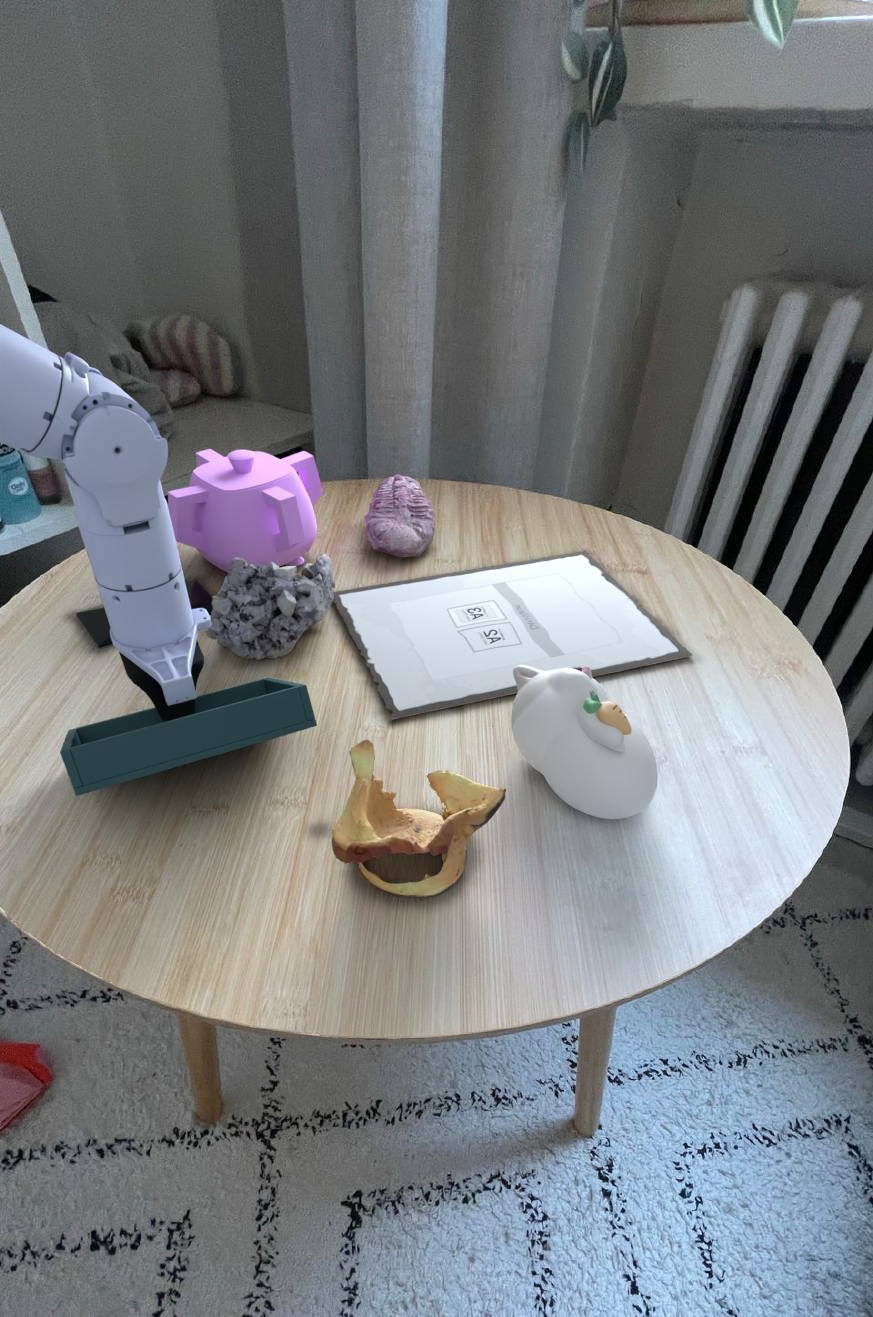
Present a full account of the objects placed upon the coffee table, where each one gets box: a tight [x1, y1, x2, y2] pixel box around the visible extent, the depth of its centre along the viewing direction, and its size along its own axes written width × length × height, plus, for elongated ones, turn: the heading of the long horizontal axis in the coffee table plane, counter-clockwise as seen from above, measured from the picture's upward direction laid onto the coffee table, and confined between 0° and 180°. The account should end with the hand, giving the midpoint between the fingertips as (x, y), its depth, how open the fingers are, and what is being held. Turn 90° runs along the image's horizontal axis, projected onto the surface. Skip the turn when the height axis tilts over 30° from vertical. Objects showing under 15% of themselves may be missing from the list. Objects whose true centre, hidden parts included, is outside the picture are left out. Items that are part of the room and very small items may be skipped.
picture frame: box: [332, 550, 694, 720], centre depth 76 cm, size 22×1×30 cm
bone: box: [331, 738, 507, 902], centre depth 52 cm, size 12×10×8 cm
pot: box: [167, 448, 324, 573], centre depth 81 cm, size 18×17×12 cm
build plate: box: [75, 578, 213, 650], centre depth 75 cm, size 12×7×5 cm, turn 126°
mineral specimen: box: [203, 552, 336, 661], centre depth 72 cm, size 12×9×10 cm
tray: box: [59, 677, 318, 797], centre depth 57 cm, size 16×13×3 cm
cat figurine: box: [510, 665, 659, 820], centre depth 58 cm, size 10×8×15 cm
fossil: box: [363, 473, 436, 558], centre depth 88 cm, size 8×14×5 cm, turn 4°
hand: (180, 723), depth 62 cm, fingers closed
